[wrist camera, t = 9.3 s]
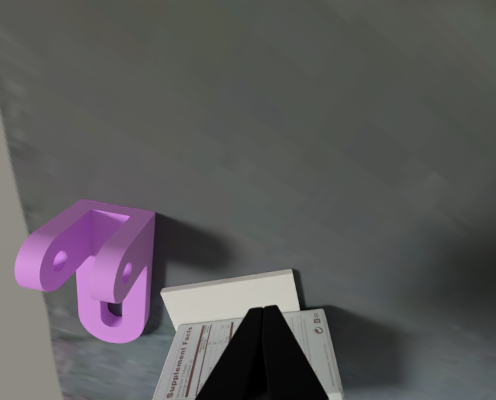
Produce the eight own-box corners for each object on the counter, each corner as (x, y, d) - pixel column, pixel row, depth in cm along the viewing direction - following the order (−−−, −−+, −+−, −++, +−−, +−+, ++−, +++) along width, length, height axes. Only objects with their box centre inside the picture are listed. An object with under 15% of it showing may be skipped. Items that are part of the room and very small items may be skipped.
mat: (291, 268, 24) (292, 273, 23) (315, 386, 29) (316, 392, 28) (162, 288, 25) (160, 293, 25) (207, 396, 30) (206, 402, 30)
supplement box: (355, 466, 20) (179, 475, 22) (333, 366, 27) (200, 379, 29) (345, 395, 17) (144, 412, 19) (323, 304, 24) (176, 323, 26)
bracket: (82, 198, 22) (10, 247, 16) (156, 211, 23) (113, 266, 16) (88, 324, 28) (35, 401, 21) (148, 335, 28) (113, 413, 21)
